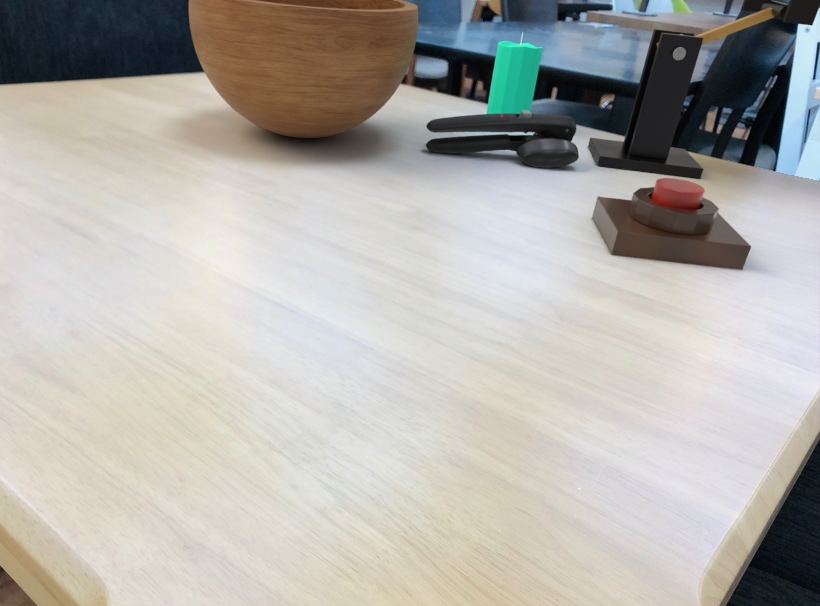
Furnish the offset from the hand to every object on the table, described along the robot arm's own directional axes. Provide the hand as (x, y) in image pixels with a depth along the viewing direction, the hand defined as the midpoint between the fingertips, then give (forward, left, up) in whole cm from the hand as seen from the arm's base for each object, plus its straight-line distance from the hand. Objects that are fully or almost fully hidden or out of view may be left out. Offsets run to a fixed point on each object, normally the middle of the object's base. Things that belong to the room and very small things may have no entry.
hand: (773, 17), depth 78 cm
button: (-14, +28, -14) cm, 34 cm away
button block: (-14, +28, -17) cm, 35 cm away
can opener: (+12, +26, -18) cm, 33 cm away
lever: (+3, +4, -3) cm, 5 cm away
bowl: (+26, +45, -18) cm, 54 cm away
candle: (+25, +14, -18) cm, 33 cm away
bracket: (+6, +8, -17) cm, 20 cm away
